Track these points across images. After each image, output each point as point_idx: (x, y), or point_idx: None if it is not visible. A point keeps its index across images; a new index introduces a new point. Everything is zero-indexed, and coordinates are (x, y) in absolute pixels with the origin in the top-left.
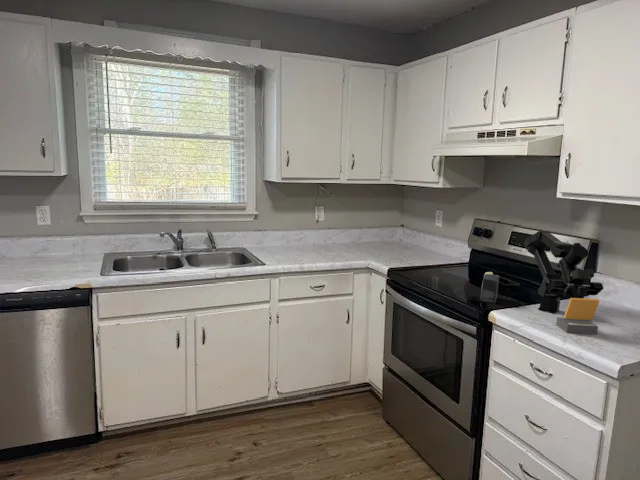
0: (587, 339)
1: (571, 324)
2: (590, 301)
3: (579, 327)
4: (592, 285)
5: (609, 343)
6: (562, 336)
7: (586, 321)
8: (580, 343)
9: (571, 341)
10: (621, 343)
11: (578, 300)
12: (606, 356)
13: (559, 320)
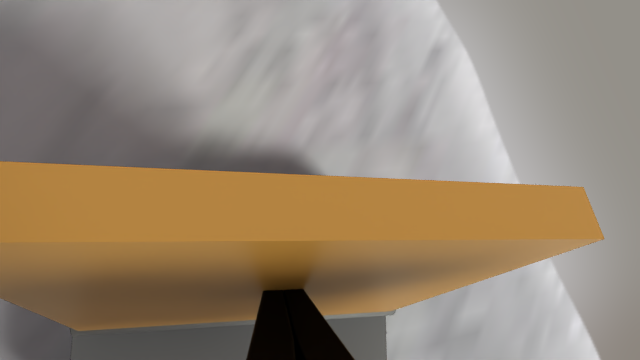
0: (265, 82)
1: None
2: (193, 187)
3: None
4: None
5: (128, 9)
6: (414, 127)
7: (122, 339)
8: (355, 16)
9: (396, 47)
10: (5, 5)
11: (459, 188)
12: None
13: (380, 344)
